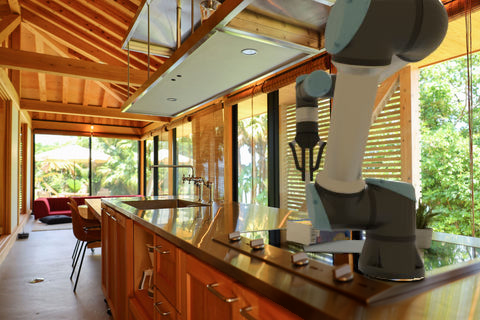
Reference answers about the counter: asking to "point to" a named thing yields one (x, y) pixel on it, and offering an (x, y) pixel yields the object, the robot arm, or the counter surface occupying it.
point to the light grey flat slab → (336, 246)
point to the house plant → (424, 225)
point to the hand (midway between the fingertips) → (307, 191)
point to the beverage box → (312, 233)
